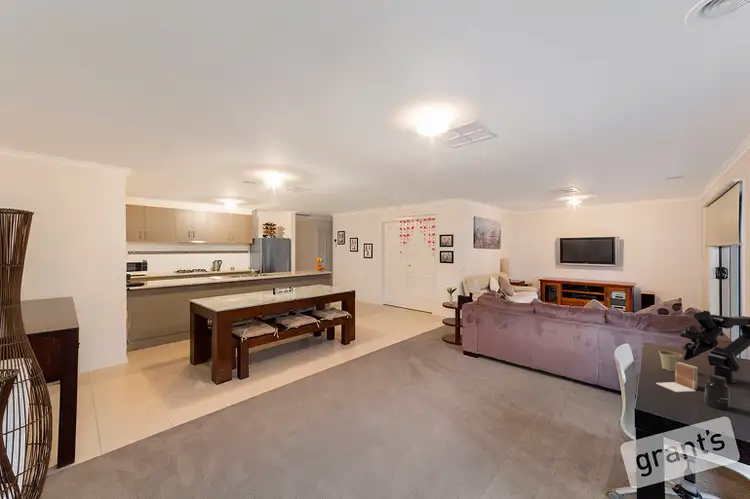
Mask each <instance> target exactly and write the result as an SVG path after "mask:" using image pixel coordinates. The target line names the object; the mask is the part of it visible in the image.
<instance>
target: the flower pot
mask: <svg viewBox="0 0 750 499" xmlns="http://www.w3.org/2000/svg"><path fill="white" fill-rule="evenodd" d="M658 353H659V356H660V362H661V369H663V370H666V371H668V372H674V373H675V370H676V362H681V360H682V358H684V355H682V354H680V353H677V352H673V351H668V350H658Z"/></svg>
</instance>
